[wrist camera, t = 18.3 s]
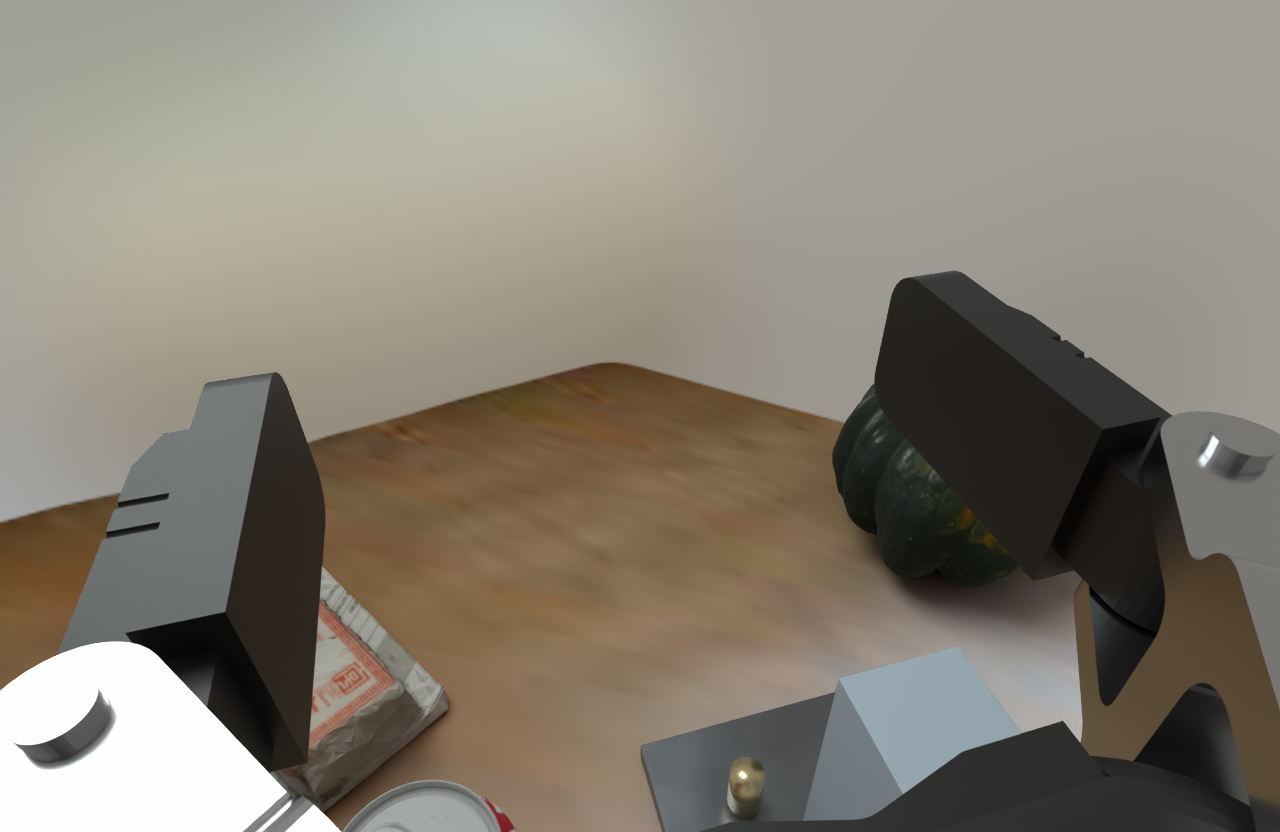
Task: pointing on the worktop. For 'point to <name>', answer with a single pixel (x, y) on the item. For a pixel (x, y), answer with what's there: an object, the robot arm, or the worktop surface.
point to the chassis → (738, 768)
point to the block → (900, 732)
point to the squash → (910, 504)
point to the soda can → (430, 810)
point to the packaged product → (358, 701)
